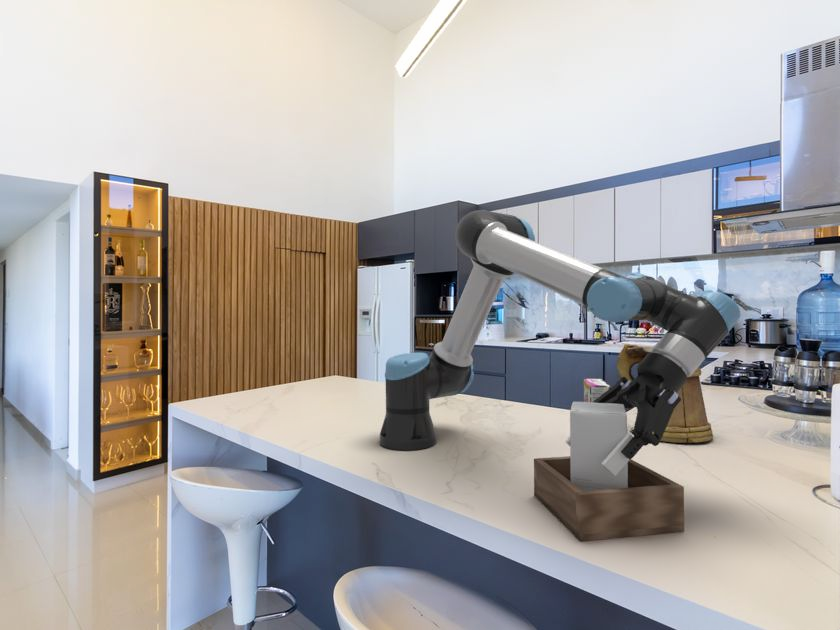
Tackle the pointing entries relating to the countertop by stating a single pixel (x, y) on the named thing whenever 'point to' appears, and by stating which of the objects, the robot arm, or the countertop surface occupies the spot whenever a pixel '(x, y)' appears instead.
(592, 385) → the candy bar box
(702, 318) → the robot arm
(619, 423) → the supplement box
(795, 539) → the countertop surface
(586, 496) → the crate
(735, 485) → the countertop surface
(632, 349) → the tankard
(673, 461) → the countertop surface
